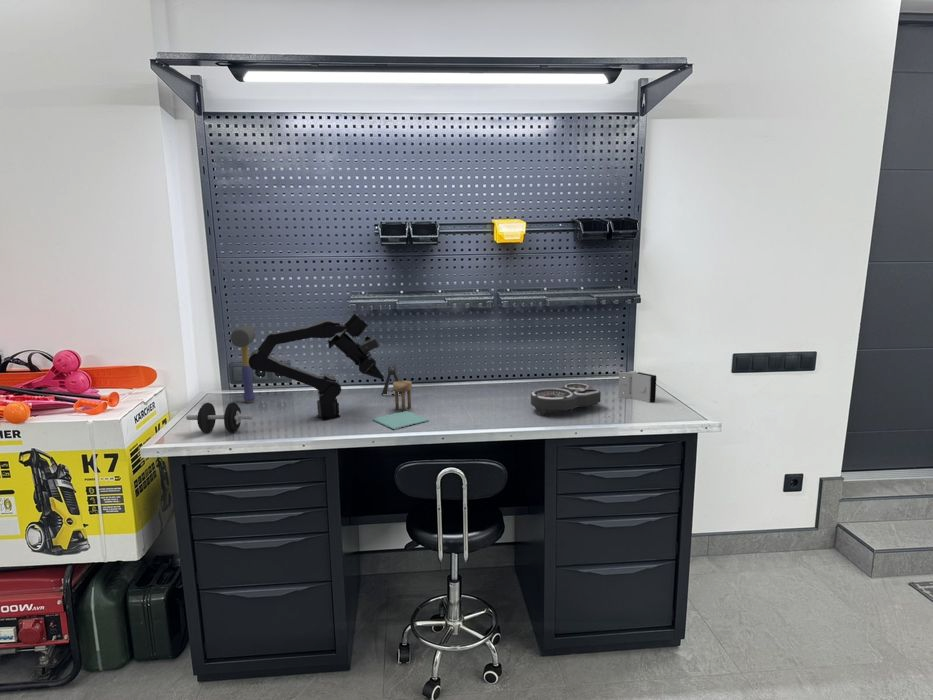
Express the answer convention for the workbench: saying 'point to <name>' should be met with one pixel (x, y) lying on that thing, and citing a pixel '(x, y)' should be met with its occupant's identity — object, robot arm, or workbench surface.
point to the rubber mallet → (245, 357)
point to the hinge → (637, 386)
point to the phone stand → (390, 372)
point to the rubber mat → (400, 419)
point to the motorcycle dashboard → (564, 398)
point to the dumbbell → (219, 417)
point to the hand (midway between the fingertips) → (381, 375)
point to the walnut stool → (402, 392)
